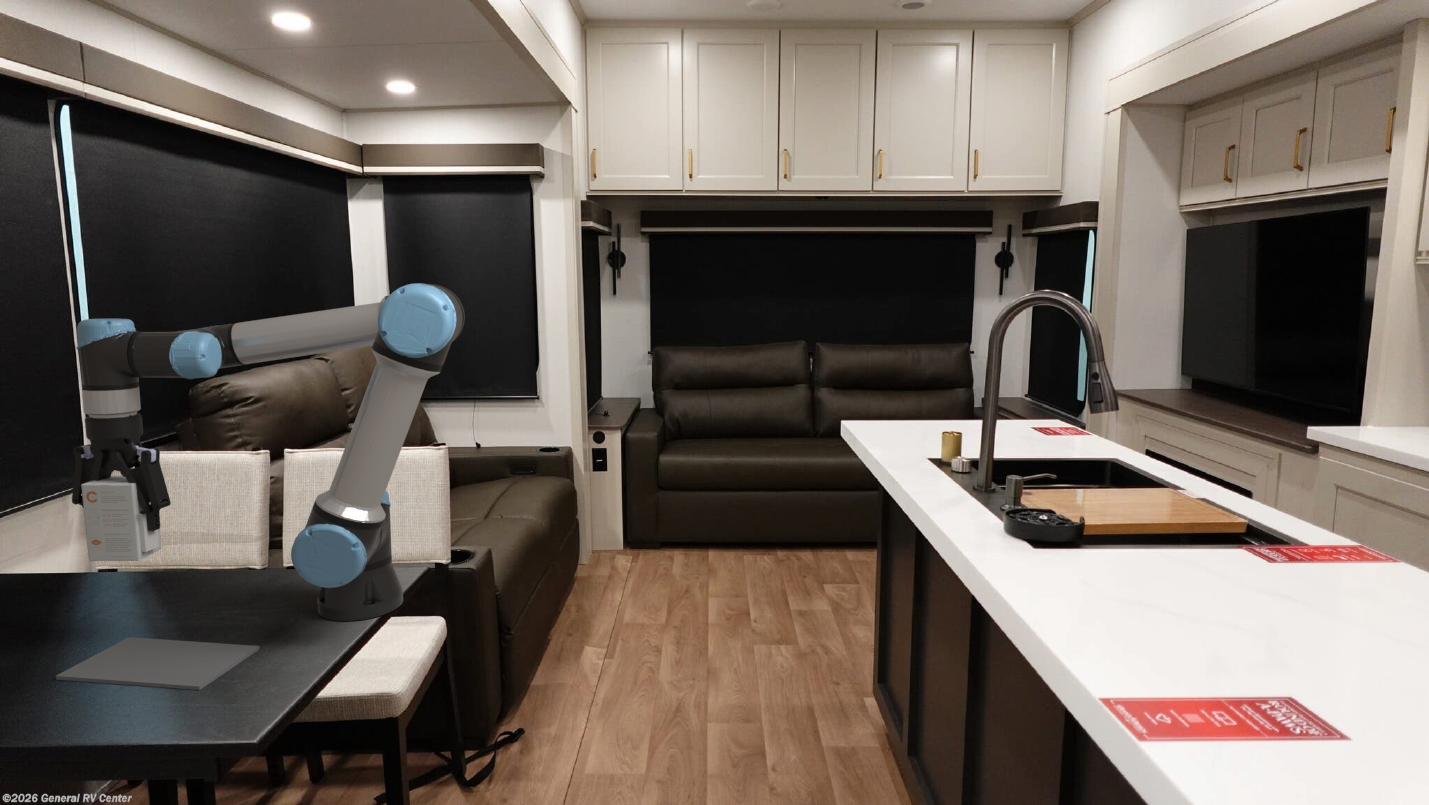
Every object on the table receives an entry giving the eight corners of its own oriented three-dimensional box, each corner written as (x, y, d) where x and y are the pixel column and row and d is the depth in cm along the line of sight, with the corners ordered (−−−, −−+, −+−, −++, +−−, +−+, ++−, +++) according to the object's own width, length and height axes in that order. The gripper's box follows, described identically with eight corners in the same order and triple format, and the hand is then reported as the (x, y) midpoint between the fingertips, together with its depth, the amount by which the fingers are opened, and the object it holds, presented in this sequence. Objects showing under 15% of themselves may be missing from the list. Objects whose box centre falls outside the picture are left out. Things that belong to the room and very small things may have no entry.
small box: (162, 549, 139) (156, 475, 137) (138, 562, 133) (131, 484, 131) (113, 549, 139) (106, 474, 137) (87, 562, 132) (79, 484, 130)
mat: (259, 649, 138) (259, 646, 138) (199, 690, 124) (199, 686, 124) (129, 640, 140) (128, 637, 140) (56, 679, 126) (55, 676, 126)
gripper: (190, 413, 134) (200, 544, 138) (76, 407, 137) (88, 536, 141) (153, 420, 127) (164, 559, 130) (33, 414, 130) (47, 550, 133)
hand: (125, 547), depth 136 cm, fingers closed on small box, 9 cm apart
